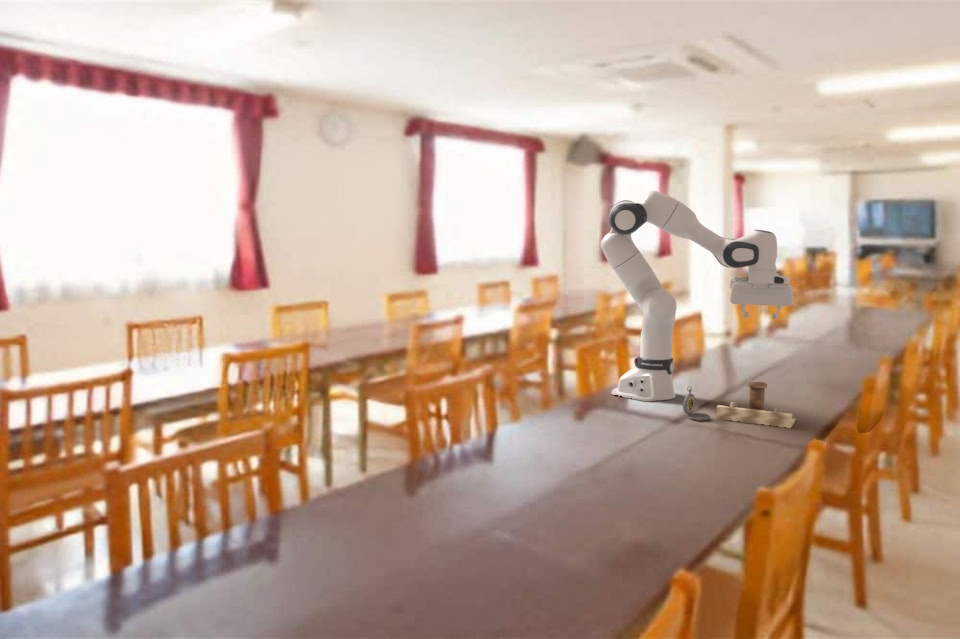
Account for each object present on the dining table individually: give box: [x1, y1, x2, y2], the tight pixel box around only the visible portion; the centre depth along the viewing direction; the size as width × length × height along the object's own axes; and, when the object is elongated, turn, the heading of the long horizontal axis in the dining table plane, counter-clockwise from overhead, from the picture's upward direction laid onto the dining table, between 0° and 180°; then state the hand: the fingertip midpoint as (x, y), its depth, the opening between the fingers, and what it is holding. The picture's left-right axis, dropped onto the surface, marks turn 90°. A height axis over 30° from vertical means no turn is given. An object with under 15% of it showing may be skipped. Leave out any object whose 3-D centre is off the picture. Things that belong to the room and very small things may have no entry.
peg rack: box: [715, 401, 797, 429], centre depth 222 cm, size 22×10×5 cm, turn 59°
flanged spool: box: [747, 381, 768, 411], centre depth 223 cm, size 7×7×11 cm
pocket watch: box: [682, 386, 711, 422], centre depth 225 cm, size 8×8×10 cm
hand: (760, 318), depth 242 cm, fingers open, 8 cm apart
